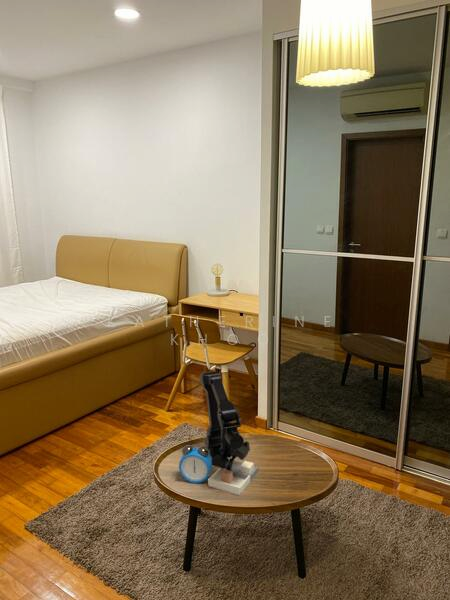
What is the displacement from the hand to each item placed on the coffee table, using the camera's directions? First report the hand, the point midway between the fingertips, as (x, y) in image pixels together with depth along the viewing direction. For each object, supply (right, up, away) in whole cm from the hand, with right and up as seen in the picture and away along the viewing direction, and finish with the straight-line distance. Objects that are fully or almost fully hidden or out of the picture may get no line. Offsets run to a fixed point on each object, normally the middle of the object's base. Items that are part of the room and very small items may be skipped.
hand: (229, 471), depth 189 cm
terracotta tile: (0, -1, 0) cm, 1 cm away
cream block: (+8, 0, +3) cm, 8 cm away
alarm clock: (-14, -4, +2) cm, 14 cm away
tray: (0, -4, -2) cm, 5 cm away
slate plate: (+4, -3, +5) cm, 7 cm away
